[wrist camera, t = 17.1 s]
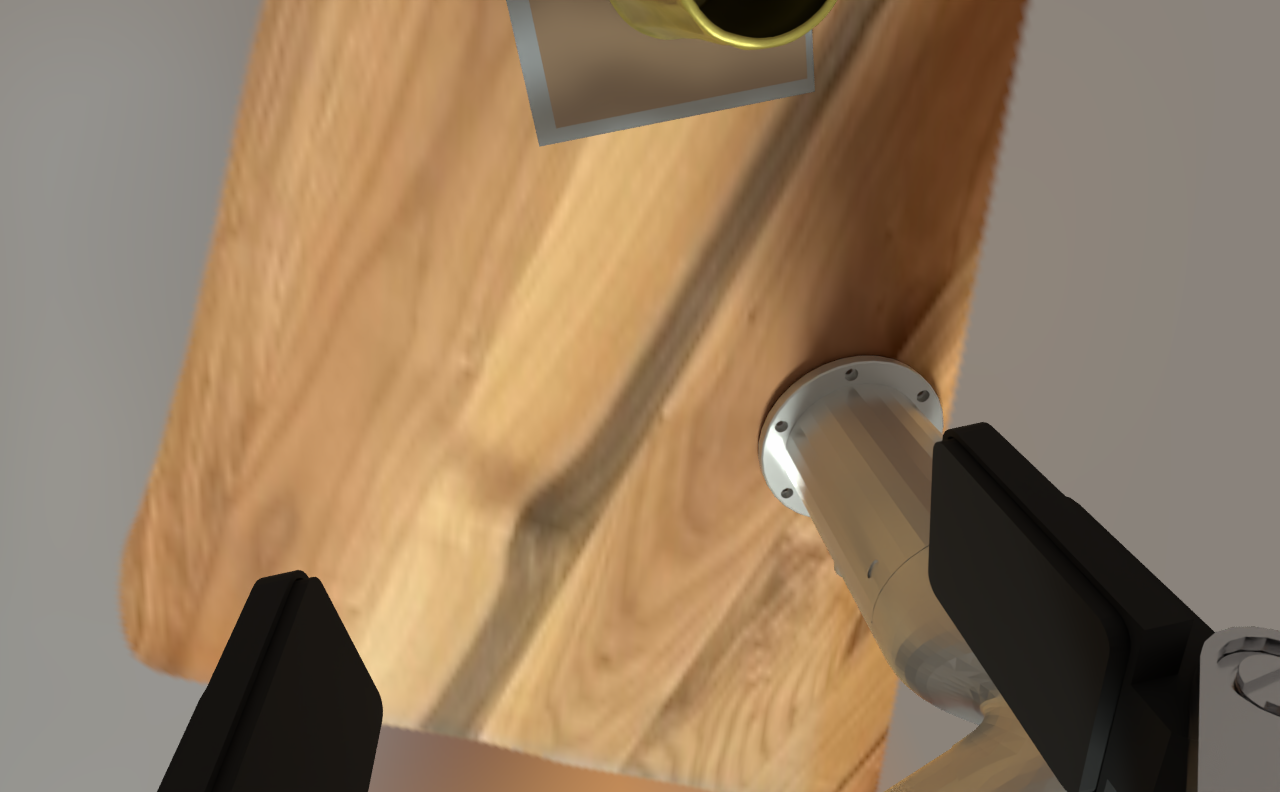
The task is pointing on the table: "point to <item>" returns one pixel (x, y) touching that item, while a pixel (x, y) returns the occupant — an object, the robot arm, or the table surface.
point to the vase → (725, 20)
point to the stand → (637, 71)
